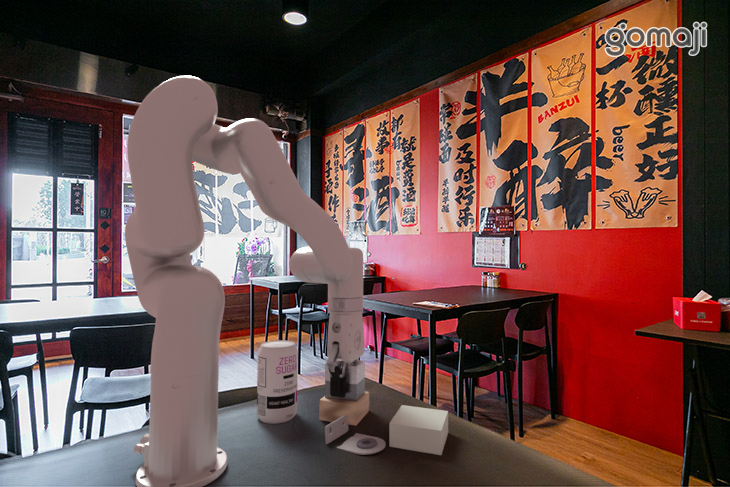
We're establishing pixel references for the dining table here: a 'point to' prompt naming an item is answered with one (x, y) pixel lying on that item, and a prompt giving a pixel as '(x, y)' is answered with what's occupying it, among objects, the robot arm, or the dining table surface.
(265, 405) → the supplement can
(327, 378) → the block
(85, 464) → the dining table surface
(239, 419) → the dining table surface
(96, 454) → the dining table surface
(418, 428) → the stand
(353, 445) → the bracket
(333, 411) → the stand
